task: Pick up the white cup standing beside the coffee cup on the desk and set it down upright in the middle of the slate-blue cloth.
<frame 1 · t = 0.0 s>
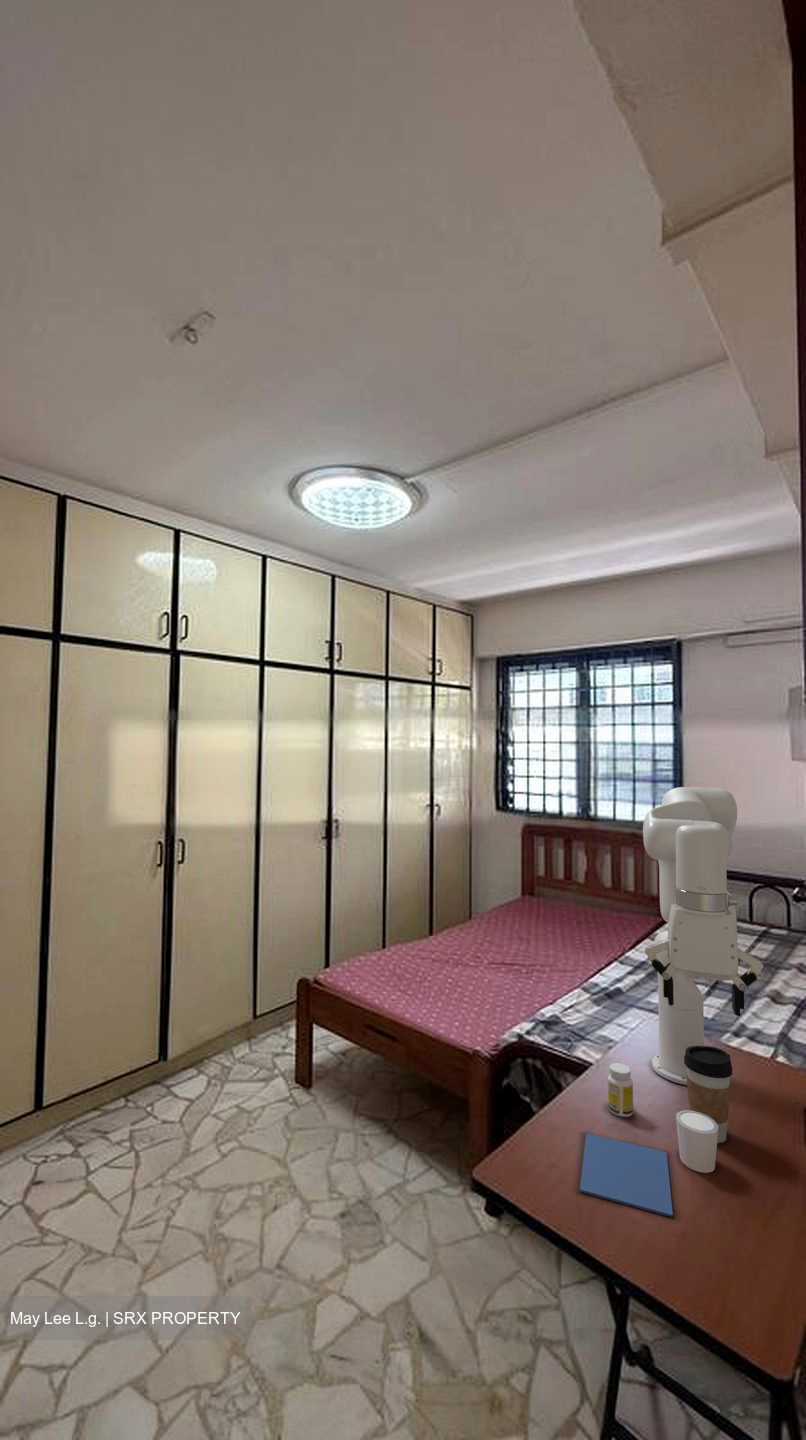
hand: (702, 1007, 95), 31 cm above the table, tool pointing down, fingers open, 9 cm apart
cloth: (625, 1172, 101), on the table
coffee cup: (708, 1134, 112), on the table
white cup: (697, 1162, 104), on the table
supplement bottle: (620, 1111, 119), on the table
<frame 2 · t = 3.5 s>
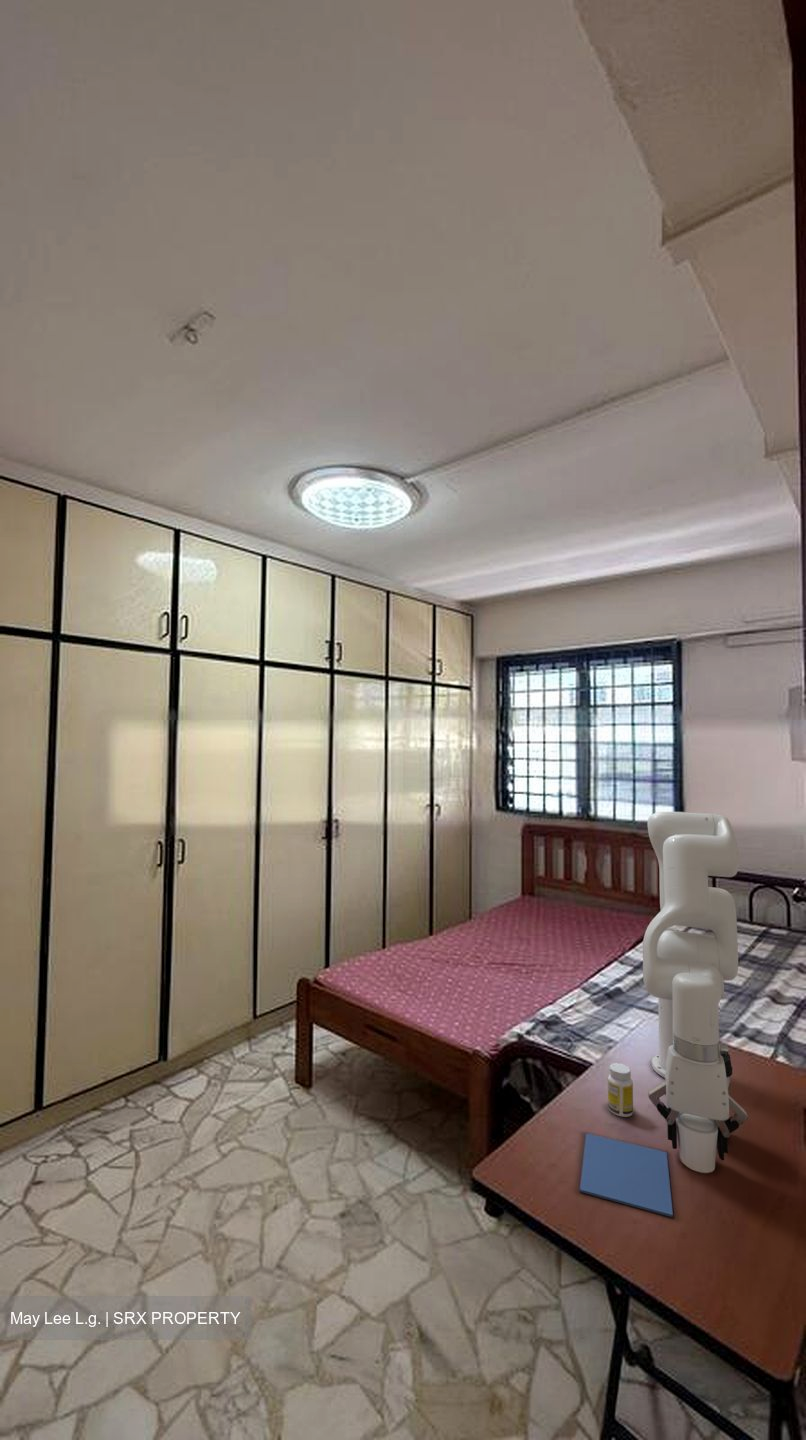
hand: (697, 1149, 104), 2 cm above the table, tool pointing down, fingers closed on white cup, 6 cm apart
white cup: (697, 1163, 104), on the table, touching gripper
everything else where it was.
when the fingers open (3 cm above the table, at t = 9.6 s): white cup stays where it is, resting on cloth.
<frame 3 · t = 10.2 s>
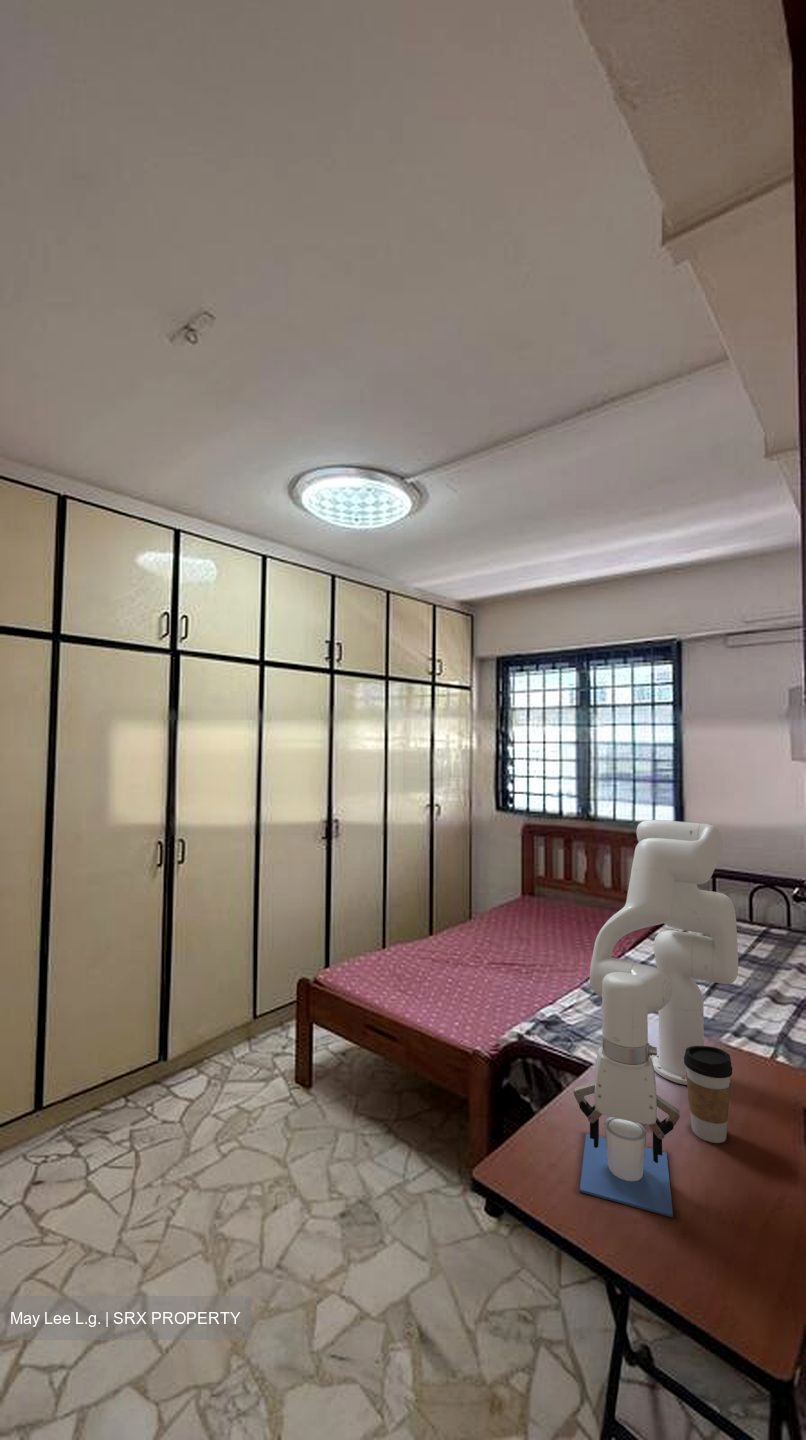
hand: (625, 1150, 101), 4 cm above the table, tool pointing down, fingers open, 9 cm apart
white cup: (625, 1170, 101), resting on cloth
everything else where it was.
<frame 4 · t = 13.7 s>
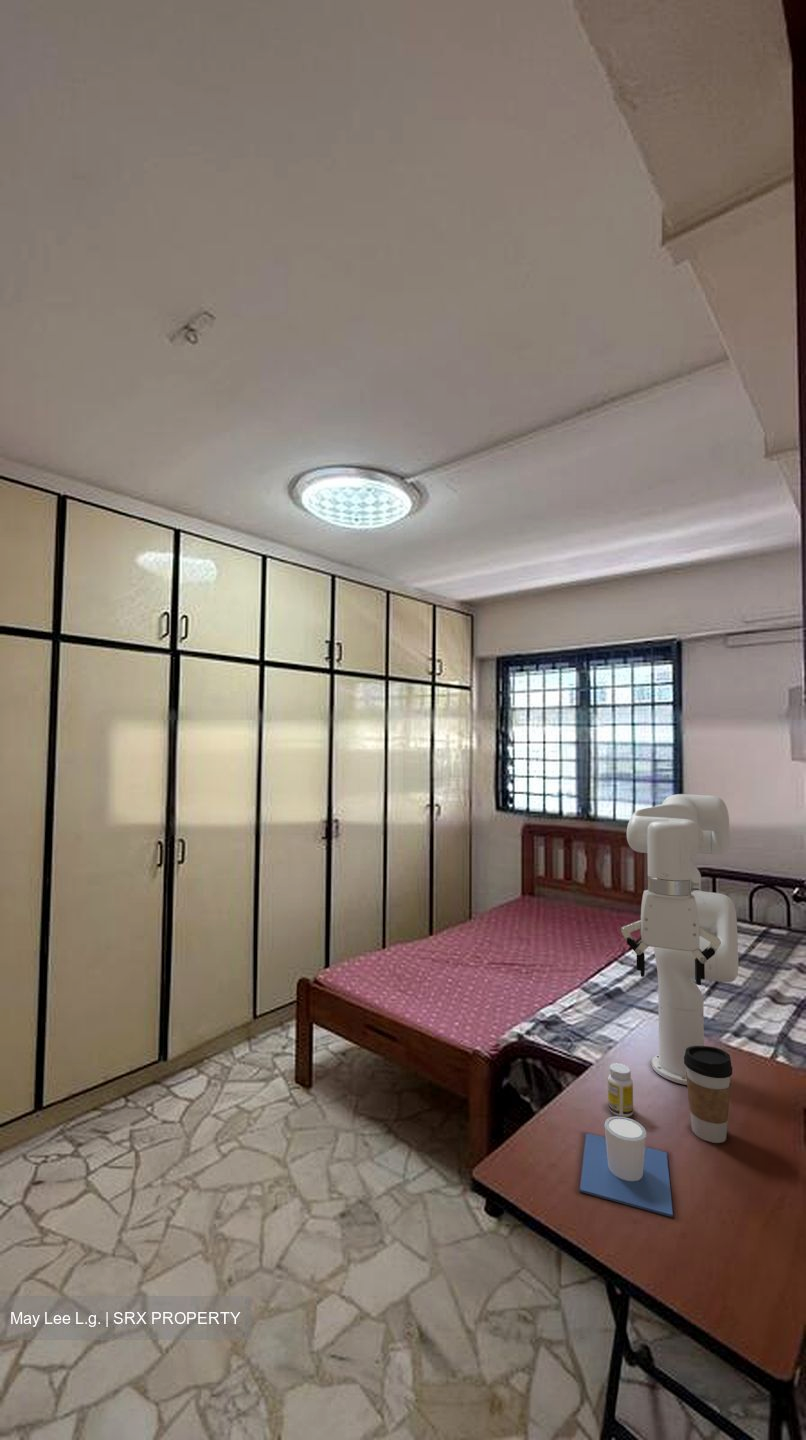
hand: (669, 978, 110), 30 cm above the table, tool pointing down, fingers open, 9 cm apart
nothing on the table moved.
at the end: white cup inside the target area on the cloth (0.0 cm from its centre), point 0.2 cm above the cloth's base; white cup tilted 0°; the gripper is holding nothing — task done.
